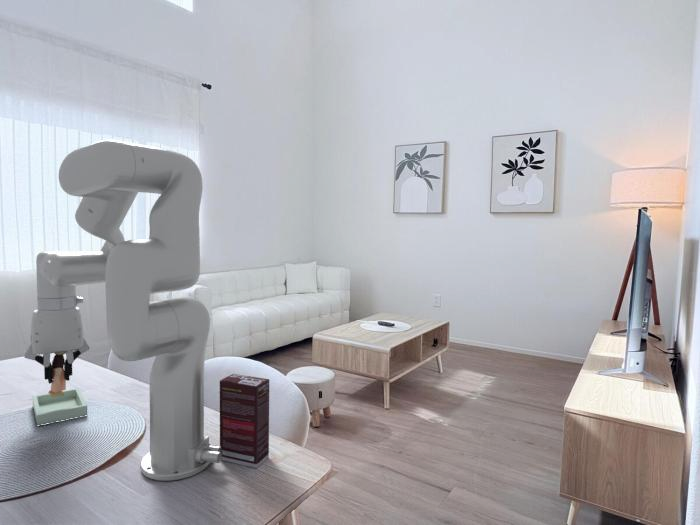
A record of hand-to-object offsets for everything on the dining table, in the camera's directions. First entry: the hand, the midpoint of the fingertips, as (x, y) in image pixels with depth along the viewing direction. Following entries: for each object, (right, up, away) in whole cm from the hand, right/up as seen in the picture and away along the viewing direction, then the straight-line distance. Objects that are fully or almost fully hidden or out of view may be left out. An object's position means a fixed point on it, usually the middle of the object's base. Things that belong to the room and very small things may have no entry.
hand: (58, 379), depth 104 cm
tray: (0, -8, +1) cm, 8 cm away
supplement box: (+49, -11, -18) cm, 53 cm away
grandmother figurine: (-1, -3, 0) cm, 3 cm away
